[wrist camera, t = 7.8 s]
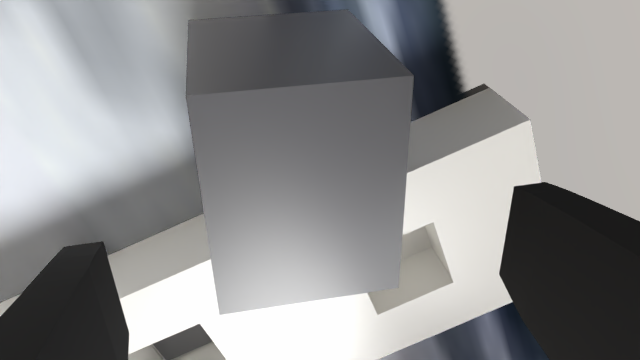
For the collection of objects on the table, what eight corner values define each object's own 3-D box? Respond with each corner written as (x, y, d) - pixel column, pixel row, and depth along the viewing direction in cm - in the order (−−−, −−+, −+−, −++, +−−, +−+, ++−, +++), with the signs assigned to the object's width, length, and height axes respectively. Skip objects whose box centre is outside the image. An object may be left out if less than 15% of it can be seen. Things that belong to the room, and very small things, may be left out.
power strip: (517, 233, 22) (569, 292, 19) (113, 407, 23) (100, 493, 20) (483, 83, 18) (541, 128, 15) (1, 296, 19) (-37, 380, 16)
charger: (333, 150, 18) (398, 287, 12) (211, 164, 18) (219, 314, 12) (332, -6, 16) (414, 75, 10) (188, 3, 15) (185, 95, 9)
